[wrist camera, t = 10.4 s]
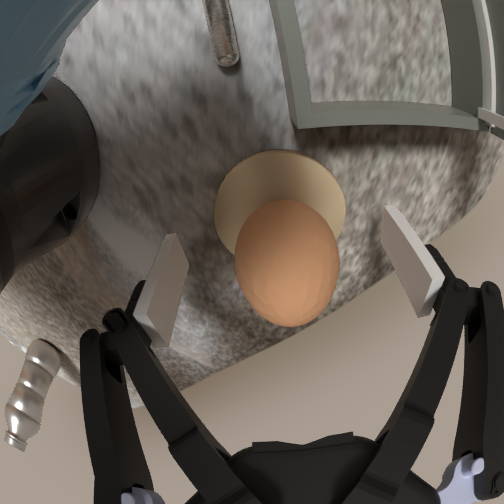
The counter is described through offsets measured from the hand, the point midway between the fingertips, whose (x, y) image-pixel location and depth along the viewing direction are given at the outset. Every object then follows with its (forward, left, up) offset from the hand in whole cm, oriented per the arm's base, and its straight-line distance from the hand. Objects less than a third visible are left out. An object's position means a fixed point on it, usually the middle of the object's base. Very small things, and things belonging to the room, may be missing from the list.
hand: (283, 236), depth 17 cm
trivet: (0, 0, -3) cm, 3 cm away
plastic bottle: (-40, -18, -3) cm, 44 cm away
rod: (-2, +16, -3) cm, 16 cm away
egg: (0, 0, -2) cm, 2 cm away
